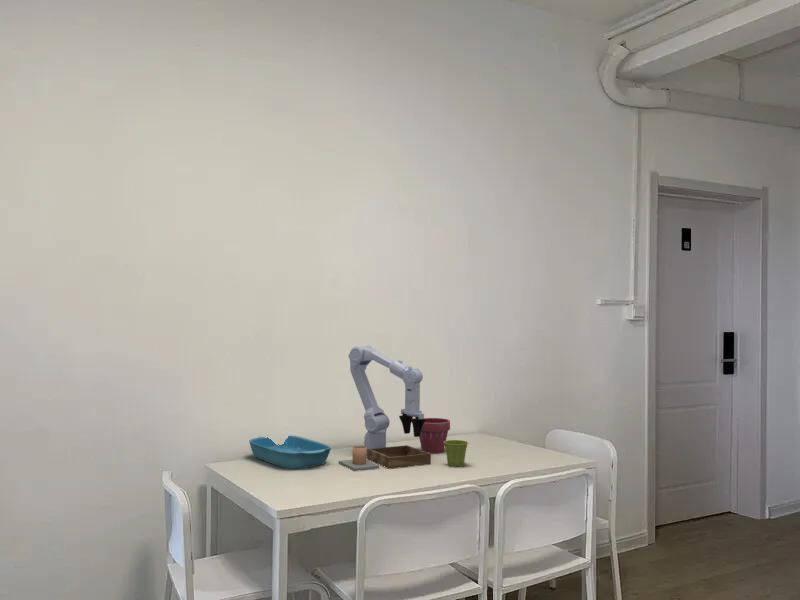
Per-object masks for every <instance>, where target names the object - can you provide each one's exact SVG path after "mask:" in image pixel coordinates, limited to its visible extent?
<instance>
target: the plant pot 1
mask: <svg viewBox="0 0 800 600" xmlns="http://www.w3.org/2000/svg"><path fill="white" fill-rule="evenodd" d="M424 419H426V420H425V422H424V424H423V426H422V429H421V433H420V436H419V438H418V439H419V442H420V443H419V444H420V447H421V450H422V451H425V452H430V454H439V452H440V453H443V452H444V451H445V448H446V447H445V444H444V441H447V439H448V438H447V437H448V432H449V431H451V420H450V419H447V418H443V417H442V418H440V417H424Z"/></svg>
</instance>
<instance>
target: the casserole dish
mask: <svg viewBox="0 0 800 600" xmlns="http://www.w3.org/2000/svg"><path fill="white" fill-rule="evenodd" d="M257 437H258V438H257ZM257 437H254V438H251V439H249V446H250V449H251V451H252V454H253V456H255V458H257V459H259V460H261V461H263V460H264V462H266V463H269V464H271V463H272V464H271V465H275V466H277V467H280V466H281V468H283V467H284V468H283V469H288V468H289V470H295V469H297V468H299V469H306V468H309V467H317V466H321V465H323V464H325V462H326V461H327V459H328V457H329V455H330V452H331V449H332V446H331V445H329V444H327V443H326V444H325V443H323V442H319V441H315V440H313V439H309V438H307V437H306V438H305V437H302V436H297V435H292V434H291V435H290V436H288V438H287V439H286V440H285V442H284V444H282V445H279V444H278V445H279V446H278V445H276V444H275V443H274V442H273V441H272V440H271V439H269V438H268V437H267V438H265V437H261V436H257ZM305 467H306V468H305Z"/></svg>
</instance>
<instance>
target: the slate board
mask: <svg viewBox="0 0 800 600" xmlns="http://www.w3.org/2000/svg"><path fill="white" fill-rule="evenodd" d="M338 465H341V466H343V465H344V466H343V467H345V466H346V467H345V468H347V467H348V468H347V469H349V468H350V469H349V470H351V469H352V471H353V470H354V471H353V472H359V471H358V470H361V471H368V470H367V469H370V470H376V469H375V468H379V469H380V465H379V464H377V463H374V462H372V461H370V460H367V459H366V464H364V465H355V464H352V459H343V460H338Z"/></svg>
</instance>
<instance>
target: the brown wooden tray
mask: <svg viewBox="0 0 800 600" xmlns="http://www.w3.org/2000/svg"><path fill="white" fill-rule="evenodd" d="M431 456H432V453H428V452H425V451H422V449H419V448H415V447H413V446H410V445H397V446H396V445H395V446H386V447H384V448H373V449H367V454H366V460H367V459H368V460H367V461H370V460H371V461H370V462H372V461H373V462H372V463H374V462H375V463H374V464H377V463H378V464H377V465H379V464H380V465H379V466H381V465H383V466H382V467H384V466H385V467H384V468H386V467H387V468H386V469H388V468H392V469H399V468H398V467H401V468H406V467H405V466H410V467H416V466H415V465H419V466H425V465H424V464H428V465H431V463H432V459H431V458H432V457H431Z"/></svg>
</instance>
